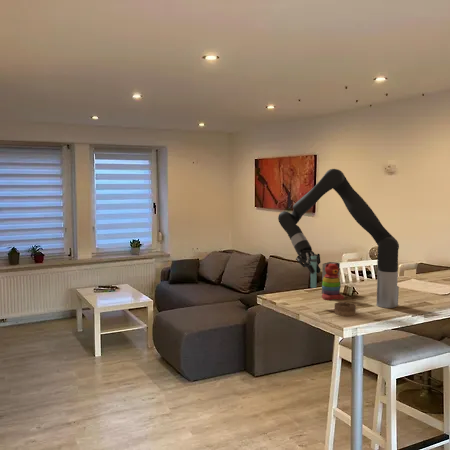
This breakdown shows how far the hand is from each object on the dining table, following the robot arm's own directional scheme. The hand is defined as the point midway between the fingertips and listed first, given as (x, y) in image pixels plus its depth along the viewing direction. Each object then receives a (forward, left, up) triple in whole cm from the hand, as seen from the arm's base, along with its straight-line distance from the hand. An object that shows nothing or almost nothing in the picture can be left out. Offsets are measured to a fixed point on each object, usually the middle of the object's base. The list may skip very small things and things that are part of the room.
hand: (316, 272), depth 225 cm
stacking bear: (-19, -11, -17) cm, 28 cm away
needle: (0, -2, -7) cm, 8 cm away
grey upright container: (-26, -20, -17) cm, 37 cm away
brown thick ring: (-5, +15, -17) cm, 23 cm away
